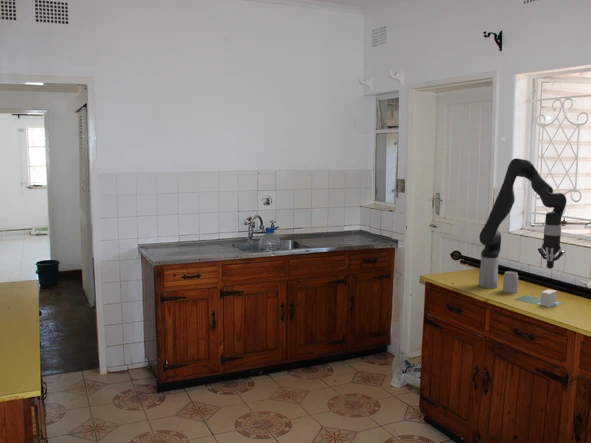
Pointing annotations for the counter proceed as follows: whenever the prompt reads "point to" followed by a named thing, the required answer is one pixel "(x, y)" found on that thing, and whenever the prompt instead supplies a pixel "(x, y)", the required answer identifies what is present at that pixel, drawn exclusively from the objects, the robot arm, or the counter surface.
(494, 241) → the robot arm
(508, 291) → the can
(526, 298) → the board
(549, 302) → the block
